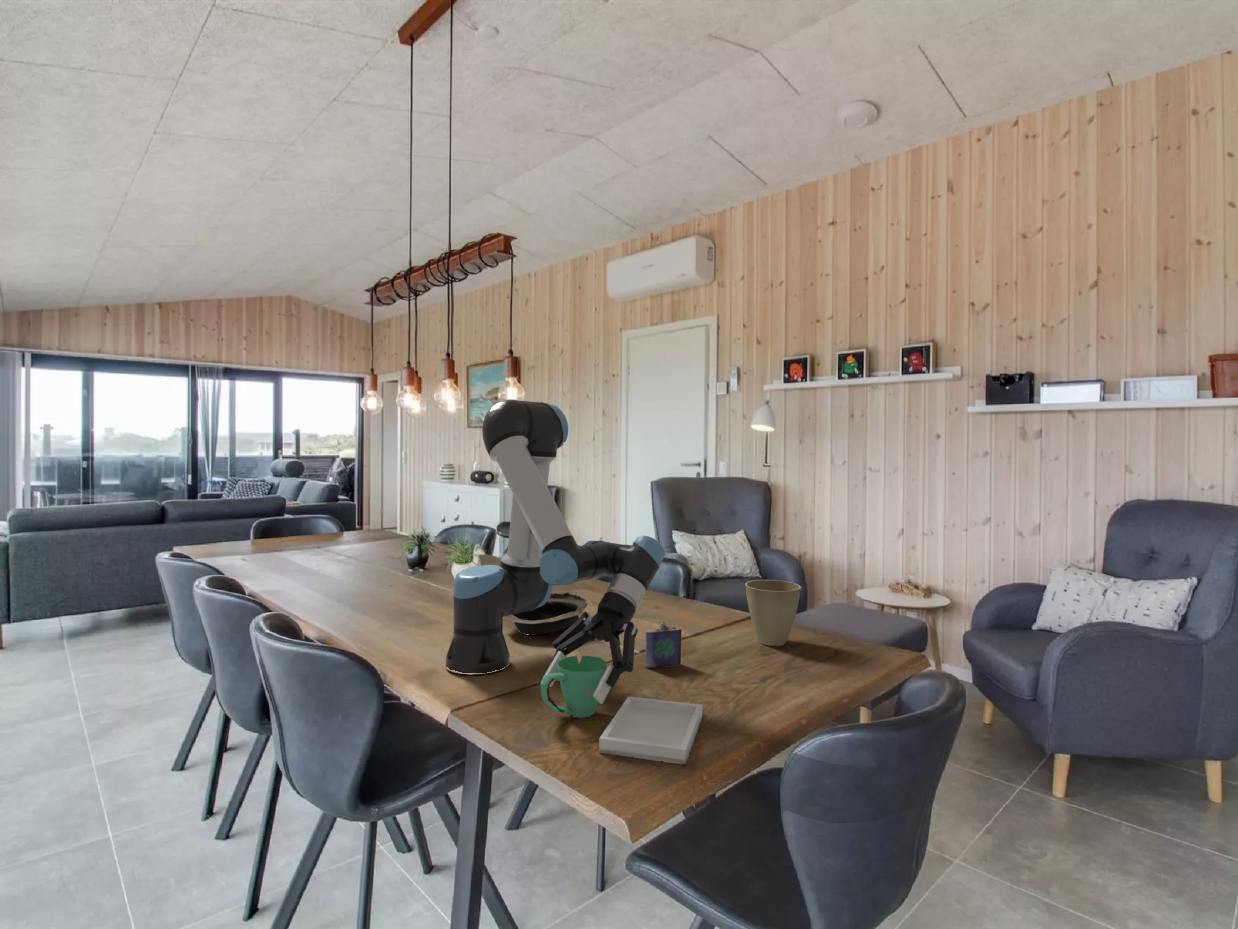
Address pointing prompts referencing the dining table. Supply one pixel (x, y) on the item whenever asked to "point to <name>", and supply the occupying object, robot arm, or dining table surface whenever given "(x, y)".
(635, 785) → the dining table surface
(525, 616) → the stone bowl
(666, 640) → the flask
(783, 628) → the plant pot
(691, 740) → the cradle tray
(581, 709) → the mug
